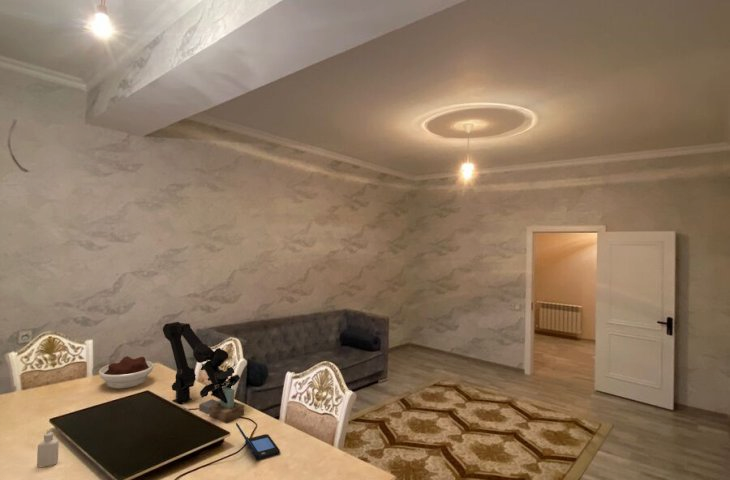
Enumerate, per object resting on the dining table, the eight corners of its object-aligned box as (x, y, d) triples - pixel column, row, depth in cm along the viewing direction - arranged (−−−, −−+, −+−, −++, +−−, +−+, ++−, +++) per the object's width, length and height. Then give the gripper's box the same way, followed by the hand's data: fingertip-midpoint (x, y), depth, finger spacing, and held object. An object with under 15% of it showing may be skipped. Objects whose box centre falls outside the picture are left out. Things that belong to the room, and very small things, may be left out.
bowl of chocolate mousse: (90, 386, 203) (91, 357, 203) (139, 373, 223) (140, 347, 223) (110, 398, 188) (111, 367, 188) (161, 383, 209) (162, 356, 209)
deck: (199, 410, 178) (199, 404, 178) (211, 405, 184) (212, 399, 184) (210, 415, 174) (210, 408, 174) (223, 409, 180) (223, 403, 180)
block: (220, 408, 175) (220, 388, 175) (224, 406, 177) (225, 386, 177) (229, 411, 172) (229, 391, 172) (233, 409, 174) (234, 389, 174)
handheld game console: (280, 455, 145) (281, 430, 145) (245, 465, 137) (246, 439, 137) (267, 436, 158) (268, 414, 158) (234, 444, 151) (235, 421, 151)
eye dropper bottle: (47, 459, 136) (48, 425, 136) (60, 462, 135) (61, 428, 135) (34, 466, 132) (35, 431, 132) (47, 469, 131) (48, 434, 131)
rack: (209, 416, 172) (209, 406, 172) (227, 408, 181) (227, 399, 181) (226, 423, 167) (226, 413, 167) (243, 414, 176) (244, 404, 176)
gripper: (205, 368, 168) (221, 399, 163) (238, 357, 184) (254, 385, 179) (193, 382, 172) (208, 412, 166) (226, 370, 188) (241, 398, 183)
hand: (229, 401), depth 173 cm, fingers closed on block, 2 cm apart
